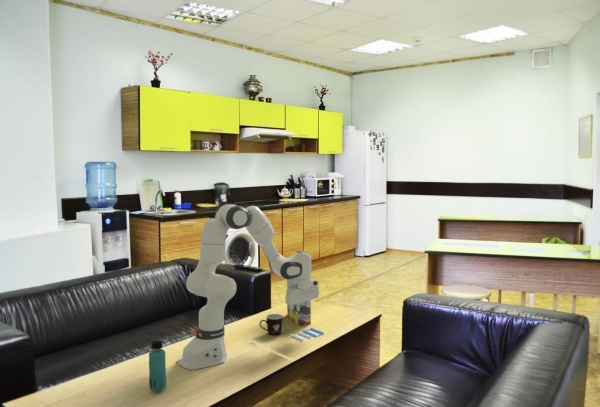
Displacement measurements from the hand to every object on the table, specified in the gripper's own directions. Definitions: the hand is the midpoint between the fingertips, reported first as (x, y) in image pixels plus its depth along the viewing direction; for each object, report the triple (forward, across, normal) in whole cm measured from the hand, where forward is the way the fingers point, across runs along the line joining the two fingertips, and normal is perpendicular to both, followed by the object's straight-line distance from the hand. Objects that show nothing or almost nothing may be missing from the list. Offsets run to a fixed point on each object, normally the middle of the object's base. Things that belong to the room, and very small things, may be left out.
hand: (302, 309), depth 238 cm
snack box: (+15, +18, +22) cm, 32 cm away
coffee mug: (+15, -8, +14) cm, 23 cm away
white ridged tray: (+15, +4, 0) cm, 16 cm away
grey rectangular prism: (+1, 0, 0) cm, 1 cm away
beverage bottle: (+15, -79, -3) cm, 81 cm away
